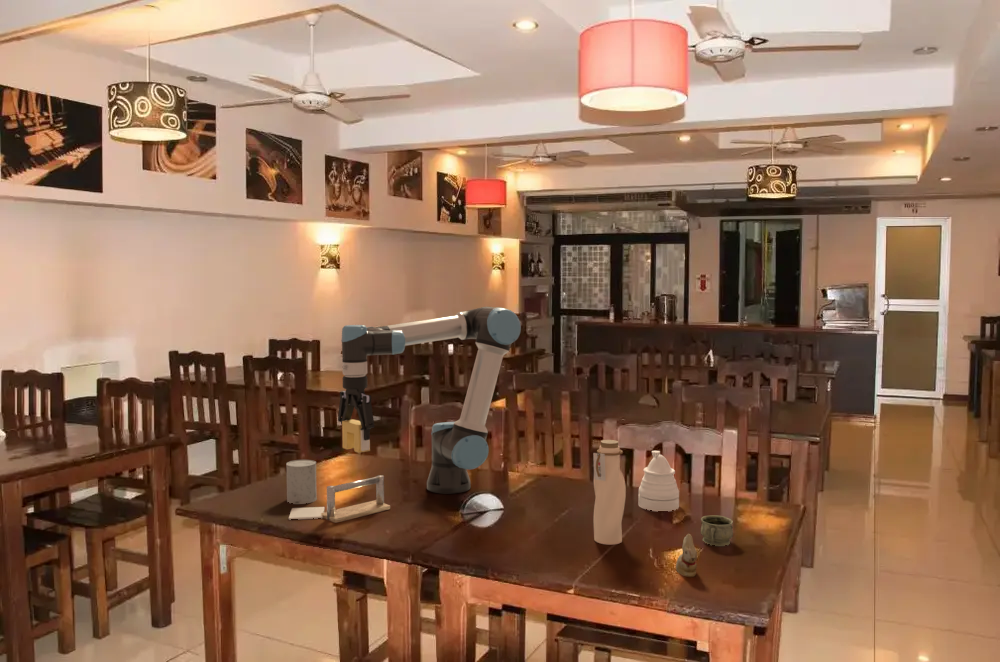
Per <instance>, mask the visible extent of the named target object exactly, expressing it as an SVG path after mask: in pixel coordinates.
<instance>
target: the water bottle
mask: <svg viewBox="0 0 1000 662" xmlns="http://www.w3.org/2000/svg"><path fill="white" fill-rule="evenodd" d="M623 453H624V452H623V450H622V449H621V448H620V446H619V441H618V440H615V439H614V440H613V439H602V440H600V445H599V448H598V449H597V450H596V452H593V457H592V458H593V488H594V489H593V490H594V495H595V501H594V507H593V538H594V539H593V540H594V541H595V542H596V543H599V544H602V545H618V544H620V543H622V542H623V534H622V533H623V532H622V531H623V530H622V529H623V528H622V527H623V526H622V520H623V517H624V511H625V504H626V495H627V494H626V493H627V491H626V490H627V489H626V481H625V480H626V479H625V478H624V473H623V472H622V470H621V467H620V466H621V459H620V458H621V455H623Z"/></svg>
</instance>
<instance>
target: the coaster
mask: <svg viewBox="0 0 1000 662" xmlns="http://www.w3.org/2000/svg"><path fill="white" fill-rule="evenodd" d="M324 512H325V506H315V507H314V506H311V507H309V506H308V507H292V508H291V510H290V512H289V513H290V514H289V516H288V520H289V521H292V520H291V519H298V520H316V519H317V520H318V518H321V519H324V518H323V516H322V515H321V513H324ZM313 518H314V519H313Z"/></svg>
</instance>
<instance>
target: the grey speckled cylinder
mask: <svg viewBox="0 0 1000 662" xmlns="http://www.w3.org/2000/svg"><path fill="white" fill-rule="evenodd" d="M317 499H318V498H317V461H315V460H313V459H296V460H290V461H287V462H286V502H287V503H288V502H289V503H288V504H291V503H293V504H292V505H305V504H306V503H307V504H310V503H314V502H317ZM307 504H306V505H307Z"/></svg>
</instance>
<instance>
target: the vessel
mask: <svg viewBox="0 0 1000 662" xmlns="http://www.w3.org/2000/svg"><path fill="white" fill-rule="evenodd" d="M700 521H701V527H700V534H701V536H703V538H702V542H703V541H704V542H705V543H704V542H703V543H704V544H706V543H707V544H706V545H708V544H710V545H709V546H712V545H715V546H714V547H726V546H725V545H727V546H729V544H730V542H731V541H730V539H732V538H733V535H734V531H733V523H734V522H733V521H734V520H732V518H729V517H727V516H723V515H704V516H702V517H700ZM730 545H731V544H730Z"/></svg>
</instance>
